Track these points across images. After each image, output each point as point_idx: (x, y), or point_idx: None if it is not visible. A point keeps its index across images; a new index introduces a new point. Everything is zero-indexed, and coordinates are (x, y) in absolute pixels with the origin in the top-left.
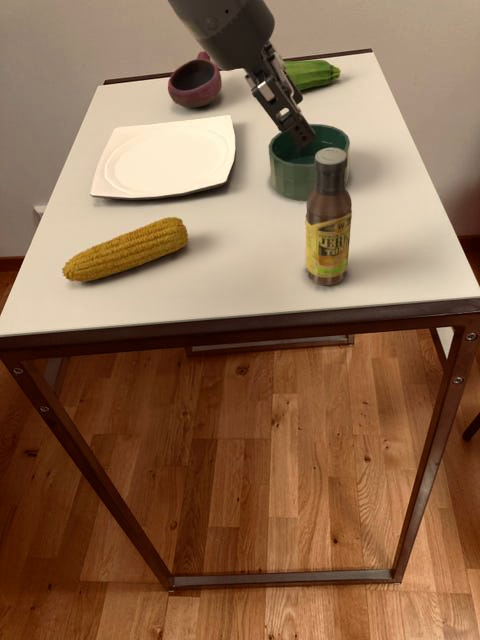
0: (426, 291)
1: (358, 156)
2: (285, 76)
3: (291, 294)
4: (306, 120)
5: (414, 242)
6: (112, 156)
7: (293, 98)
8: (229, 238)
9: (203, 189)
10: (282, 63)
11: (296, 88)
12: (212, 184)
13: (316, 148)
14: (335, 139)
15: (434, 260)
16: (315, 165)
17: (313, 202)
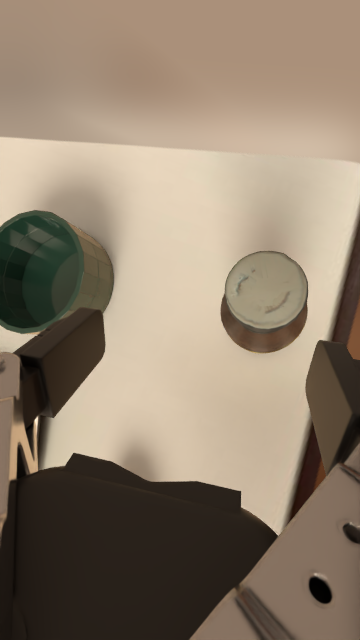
0: (338, 217)
1: (49, 208)
2: (304, 556)
3: (282, 382)
4: (337, 376)
5: (242, 199)
6: None
7: (92, 340)
8: (142, 425)
9: (38, 435)
10: (13, 421)
11: (77, 328)
12: (35, 420)
13: (20, 257)
14: (25, 228)
15: (285, 187)
16: (265, 331)
17: (274, 343)
